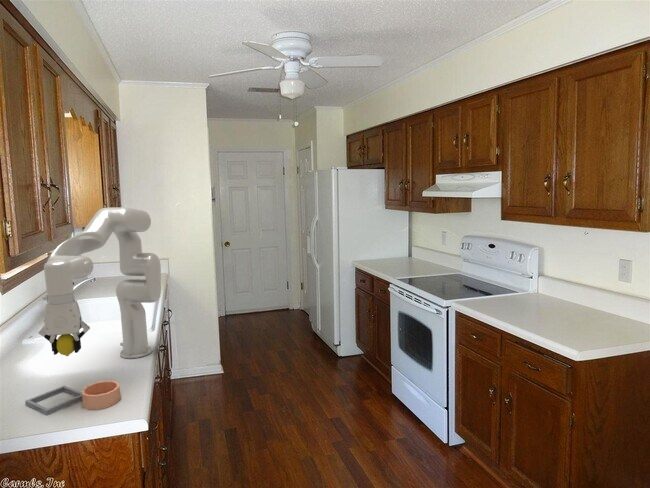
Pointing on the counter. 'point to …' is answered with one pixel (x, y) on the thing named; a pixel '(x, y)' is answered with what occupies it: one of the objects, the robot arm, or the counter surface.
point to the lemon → (65, 344)
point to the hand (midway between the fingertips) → (67, 351)
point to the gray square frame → (64, 388)
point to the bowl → (101, 395)
